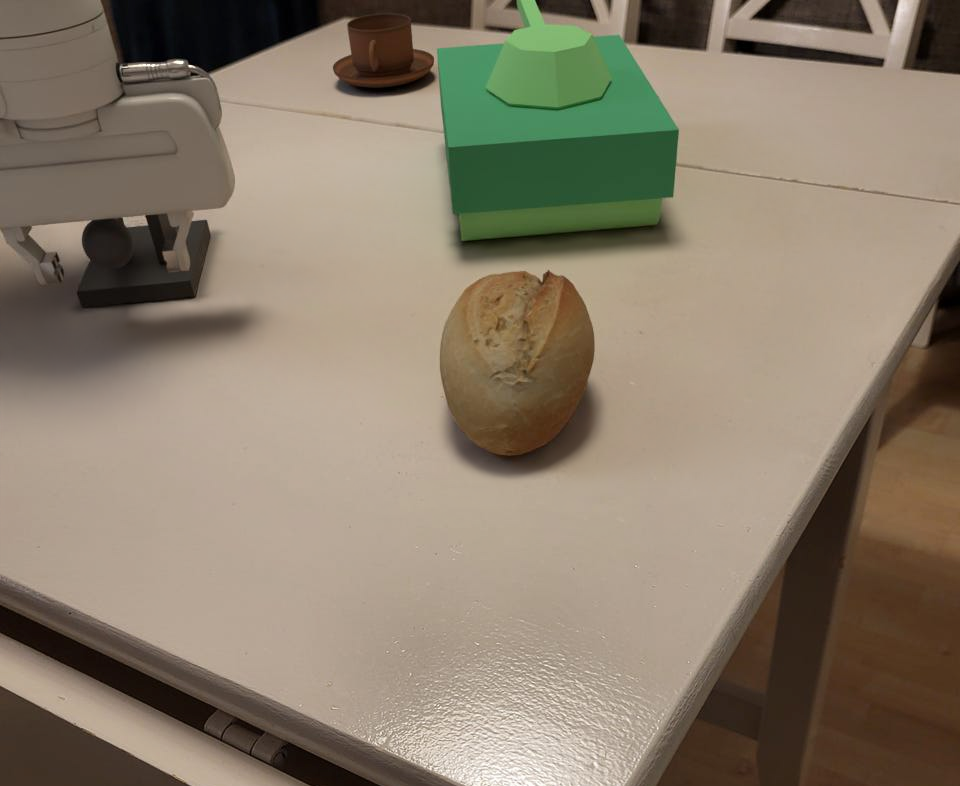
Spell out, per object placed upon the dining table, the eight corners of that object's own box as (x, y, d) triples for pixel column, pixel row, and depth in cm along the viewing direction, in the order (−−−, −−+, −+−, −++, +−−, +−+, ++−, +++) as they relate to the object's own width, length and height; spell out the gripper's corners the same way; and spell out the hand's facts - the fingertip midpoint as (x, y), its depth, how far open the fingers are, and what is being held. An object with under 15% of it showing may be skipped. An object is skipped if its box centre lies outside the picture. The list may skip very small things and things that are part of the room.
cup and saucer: (444, 88, 112) (440, 27, 108) (342, 101, 111) (333, 41, 106) (425, 60, 121) (420, 3, 117) (329, 72, 119) (321, 15, 115)
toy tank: (608, -29, 97) (683, 75, 71) (603, 104, 105) (669, 239, 80) (431, -16, 96) (444, 93, 71) (440, 116, 105) (455, 256, 80)
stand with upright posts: (195, 296, 77) (147, 126, 68) (81, 307, 77) (18, 138, 68) (210, 234, 86) (170, 76, 77) (108, 244, 86) (56, 86, 77)
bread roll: (586, 341, 69) (589, 229, 63) (599, 466, 58) (604, 345, 52) (451, 346, 69) (441, 236, 64) (439, 471, 58) (426, 351, 53)
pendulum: (141, 276, 72) (124, 246, 69) (93, 281, 72) (73, 251, 69) (138, 130, 76) (122, 95, 72) (92, 135, 76) (73, 99, 72)
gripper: (214, 43, 65) (258, 243, 75) (-92, 70, 65) (-8, 269, 74) (204, 70, 61) (252, 280, 70) (-126, 99, 60) (-32, 307, 70)
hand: (116, 274), depth 72 cm, fingers open, 8 cm apart
